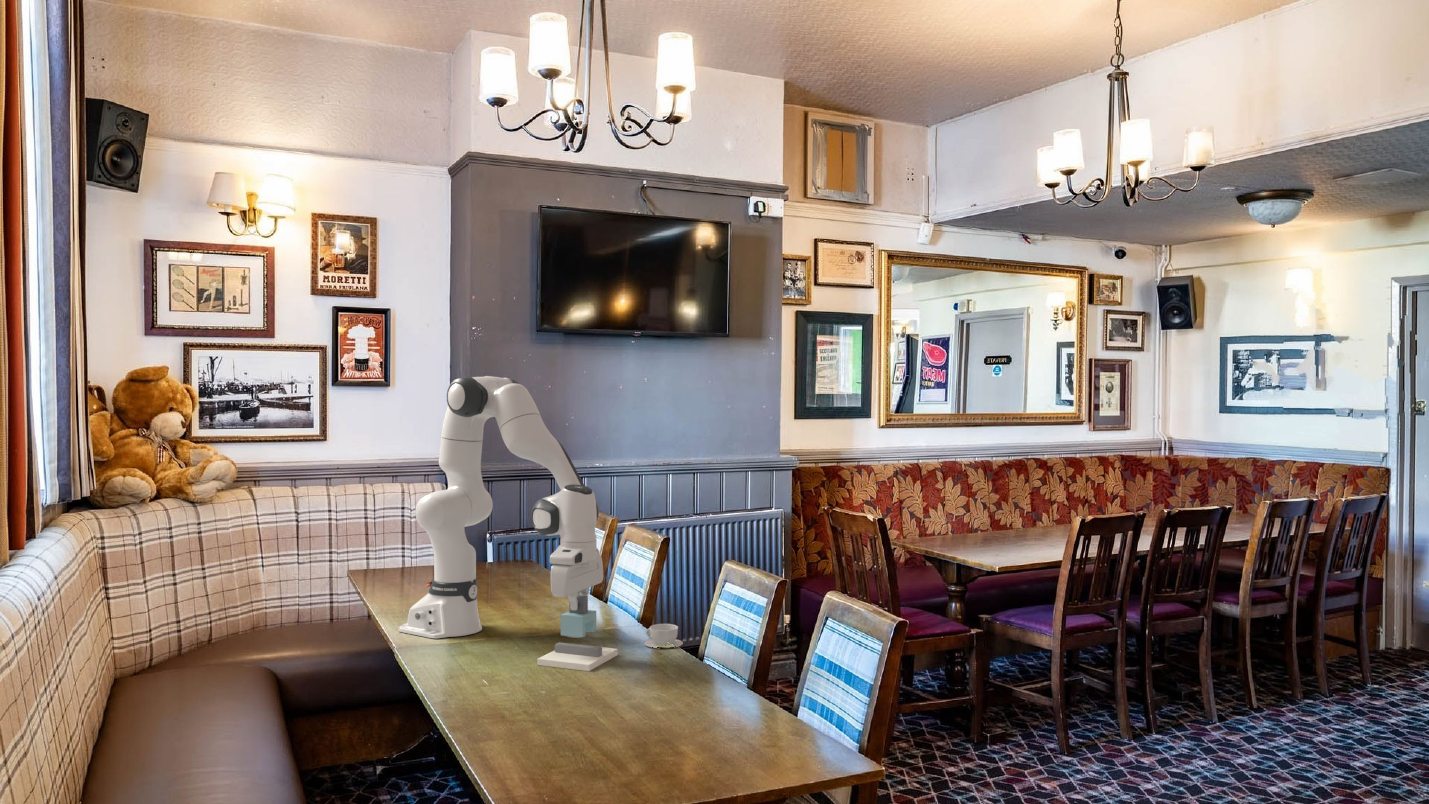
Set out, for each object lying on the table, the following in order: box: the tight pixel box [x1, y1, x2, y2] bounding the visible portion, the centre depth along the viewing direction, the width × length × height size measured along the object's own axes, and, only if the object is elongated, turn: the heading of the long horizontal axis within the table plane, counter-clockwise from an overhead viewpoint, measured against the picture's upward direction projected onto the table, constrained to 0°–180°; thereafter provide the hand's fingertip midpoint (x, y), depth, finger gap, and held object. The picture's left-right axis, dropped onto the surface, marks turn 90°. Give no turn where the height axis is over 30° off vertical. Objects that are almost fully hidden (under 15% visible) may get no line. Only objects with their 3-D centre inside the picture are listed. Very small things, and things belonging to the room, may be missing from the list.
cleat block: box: [560, 595, 597, 638], centre depth 239 cm, size 6×7×9 cm
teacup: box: [644, 623, 684, 649], centre depth 254 cm, size 10×10×5 cm
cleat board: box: [536, 642, 619, 672], centre depth 239 cm, size 14×15×4 cm
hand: (578, 608), depth 239 cm, fingers closed on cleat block
